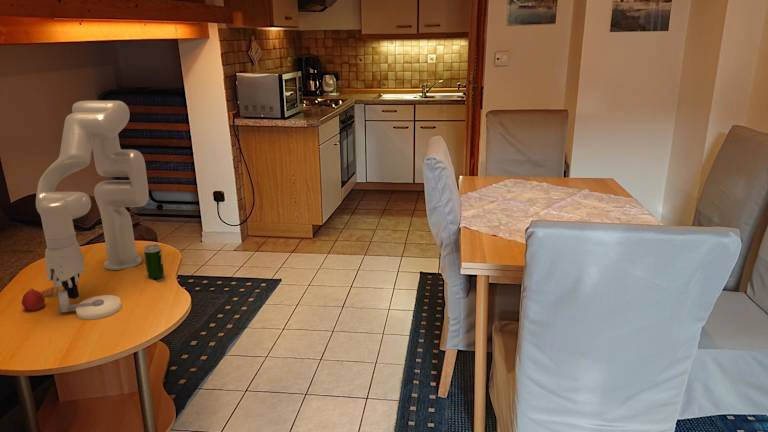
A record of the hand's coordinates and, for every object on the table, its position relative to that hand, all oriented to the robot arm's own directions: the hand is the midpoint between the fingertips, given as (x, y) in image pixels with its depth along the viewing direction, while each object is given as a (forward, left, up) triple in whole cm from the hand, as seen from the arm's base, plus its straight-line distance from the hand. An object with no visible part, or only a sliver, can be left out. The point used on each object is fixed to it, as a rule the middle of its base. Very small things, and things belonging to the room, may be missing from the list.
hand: (72, 297), depth 164 cm
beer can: (-18, +21, -5) cm, 29 cm away
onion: (-3, -12, -5) cm, 13 cm away
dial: (+4, +5, -3) cm, 7 cm away
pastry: (-13, -8, -5) cm, 16 cm away
